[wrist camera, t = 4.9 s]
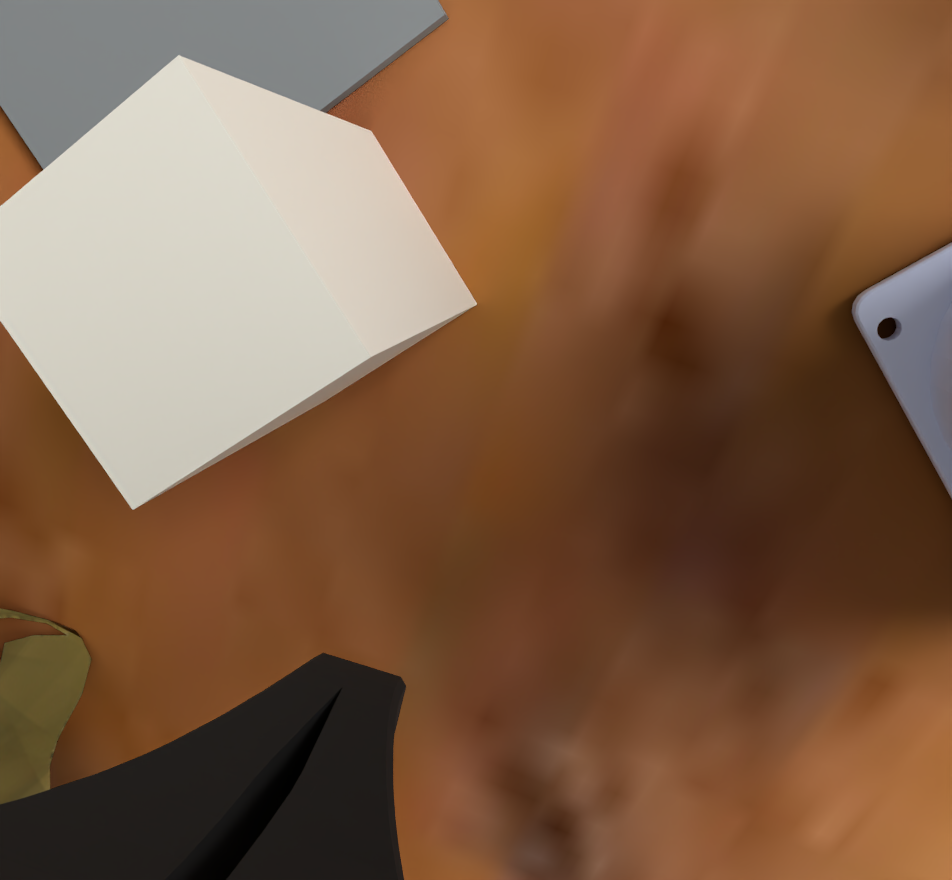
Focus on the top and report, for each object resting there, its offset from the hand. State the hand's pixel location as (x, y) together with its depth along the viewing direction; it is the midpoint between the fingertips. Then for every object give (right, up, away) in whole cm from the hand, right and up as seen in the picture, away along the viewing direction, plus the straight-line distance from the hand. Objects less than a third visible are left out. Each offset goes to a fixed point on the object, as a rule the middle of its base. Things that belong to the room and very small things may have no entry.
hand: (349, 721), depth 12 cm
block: (-1, +9, +9) cm, 13 cm away
